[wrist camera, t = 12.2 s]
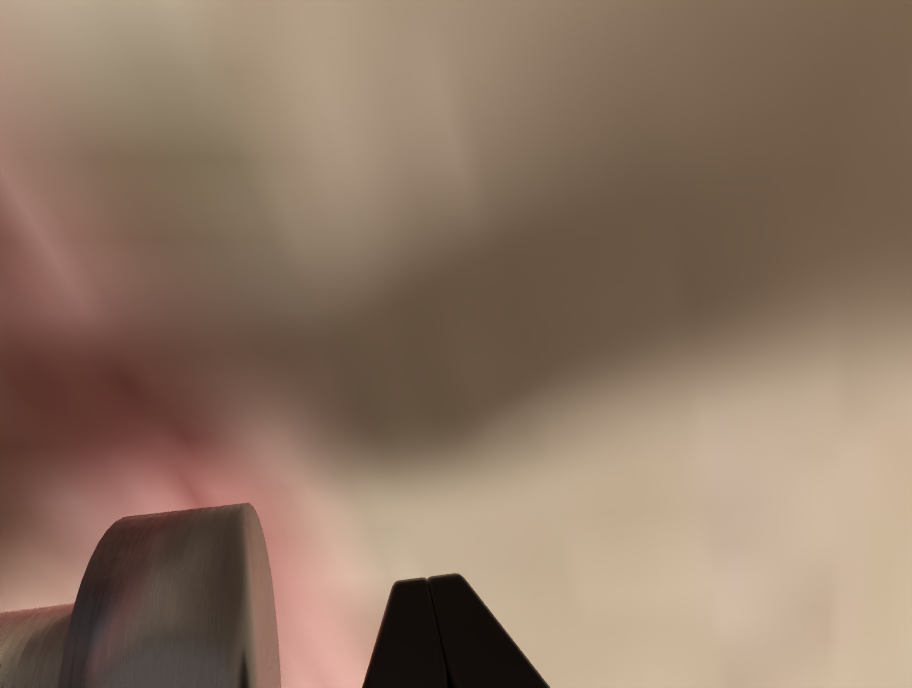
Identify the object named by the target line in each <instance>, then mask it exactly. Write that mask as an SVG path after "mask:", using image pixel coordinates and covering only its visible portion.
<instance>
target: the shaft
mask: <svg viewBox="0 0 912 688" xmlns="http://www.w3.org/2000/svg"><path fill="white" fill-rule="evenodd" d="M0 688H281V676H280V659H279V644H278V632H277V620H276V610H275V601H274V592H273V584H272V577H271V570H270V564H269V558H268V552H267V547H266V542H265V538H264V534H263V530H262V527H261V523H260V520H259V517H258V515H257V513H256V510H255V509H254V507H253V506H252V505H251V504H250V503H242V504H233V505H224V506H215V507H207V508H198V509H189V510H181V511H172V512H163V513H154V514H146V515H137V516H129V517H123V518H121V519H120V520H118V521H116V522H115V523H114V524H113V525H112V526H111V527H110V528H109V529H108V530H107V531H106V533H105V534H104V535H103V537H102V538H101V540H100V541H99V543H98V545H97V547H96V549H95V551H94V553H93V555H92V557H91V559H90V561H89V563H88V566H87V568H86V571H85V574H84V576H83V579H82V581H81V584H80V588H79V591H78V594H77V598H76V601H75V603H72V604H64V605H57V606H49V607H41V608H34V609H26V610H18V611H11V612H3V613H0Z"/></svg>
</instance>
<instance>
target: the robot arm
mask: <svg viewBox="0 0 912 688" xmlns="http://www.w3.org/2000/svg"><path fill="white" fill-rule="evenodd" d="M362 688H550V687H549V685H548V684H547V683H546V682H545V680H544V679H543V678H542V677H541V675H540V674H539V673H538V671H537V670H536V669H535V668H534V666H533V665H532V664H531V662H530V661H529V660H528V659H527V657H526V656H525V655H524V654H523V652H522V651H521V650H520V648H519V647H518V646H517V645H516V643H515V642H514V641H513V639H512V638H511V637H510V636H509V634H508V633H507V632H506V631H505V629H504V628H503V627H502V625H501V624H500V623H499V622H498V620H497V619H496V618H495V617H494V615H493V614H492V613H491V611H490V610H489V609H488V608H487V606H486V605H485V604H484V602H483V601H482V600H481V599H480V597H479V596H478V595H477V594H476V592H475V591H474V590H473V588H472V587H471V586H470V585H469V583H468V582H467V581H466V580H465V578H464V577H463V576H461V575H460V574H456V573H454V574H446V575H438V576H431V577H429V578H428V579H426V578H414V579H406V580H399V581H396V582H395V583H394V585H393V586H392V589H391V592H390V595H389V599H388V602H387V606H386V609H385V612H384V616H383V619H382V622H381V626H380V629H379V633H378V636H377V639H376V643H375V646H374V649H373V653H372V656H371V660H370V663H369V666H368V670H367V673H366V677H365V680H364V683H363V687H362Z"/></svg>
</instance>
